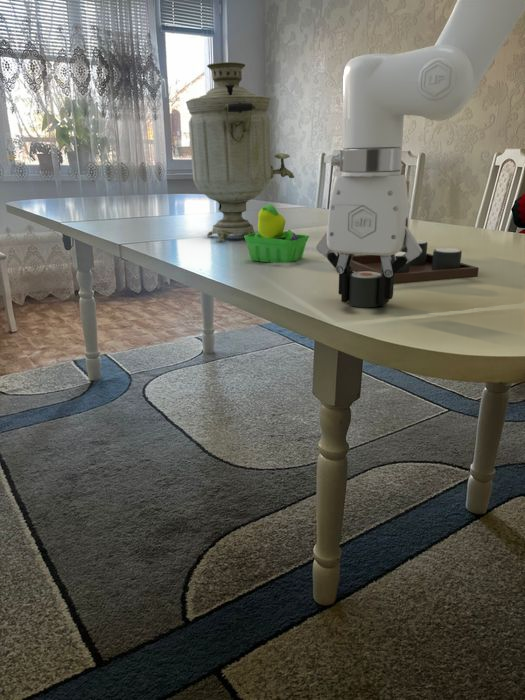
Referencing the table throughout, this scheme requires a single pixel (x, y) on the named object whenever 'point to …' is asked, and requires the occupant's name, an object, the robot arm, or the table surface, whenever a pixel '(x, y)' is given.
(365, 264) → the tray
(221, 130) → the samovar
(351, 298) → the maki roll
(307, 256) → the table surface
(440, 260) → the corner roll
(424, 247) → the corner roll
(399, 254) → the corner roll
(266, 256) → the fruit basket
